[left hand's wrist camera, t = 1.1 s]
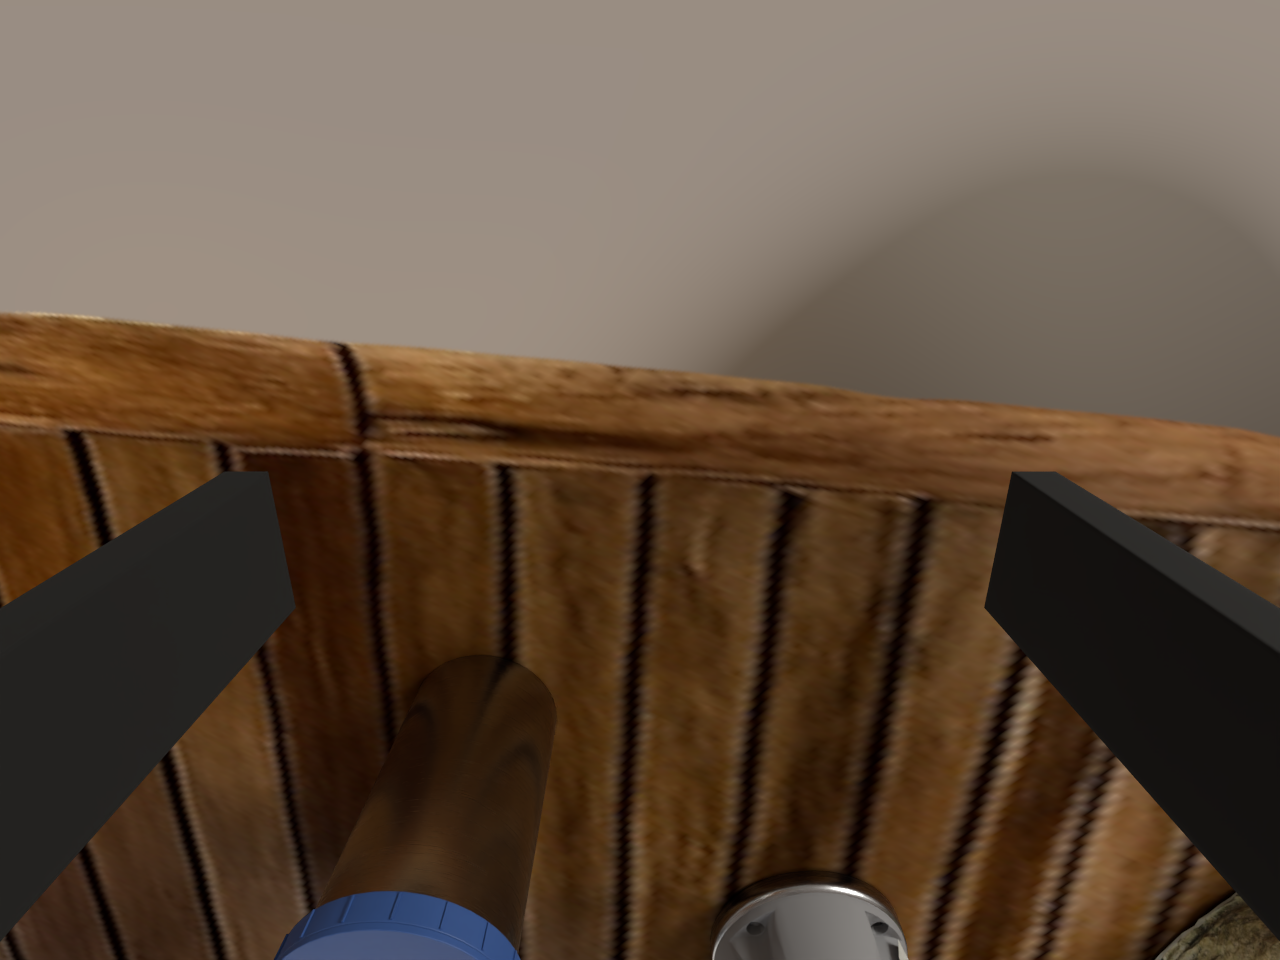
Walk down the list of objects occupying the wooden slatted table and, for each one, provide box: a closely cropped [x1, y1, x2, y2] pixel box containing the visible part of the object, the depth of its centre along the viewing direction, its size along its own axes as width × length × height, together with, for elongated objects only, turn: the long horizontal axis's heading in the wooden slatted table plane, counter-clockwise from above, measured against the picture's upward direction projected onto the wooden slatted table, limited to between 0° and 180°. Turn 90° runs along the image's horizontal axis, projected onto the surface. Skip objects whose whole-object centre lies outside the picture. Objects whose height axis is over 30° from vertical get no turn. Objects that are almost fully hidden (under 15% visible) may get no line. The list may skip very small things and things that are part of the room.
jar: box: [316, 655, 557, 954], centre depth 39 cm, size 10×10×19 cm
